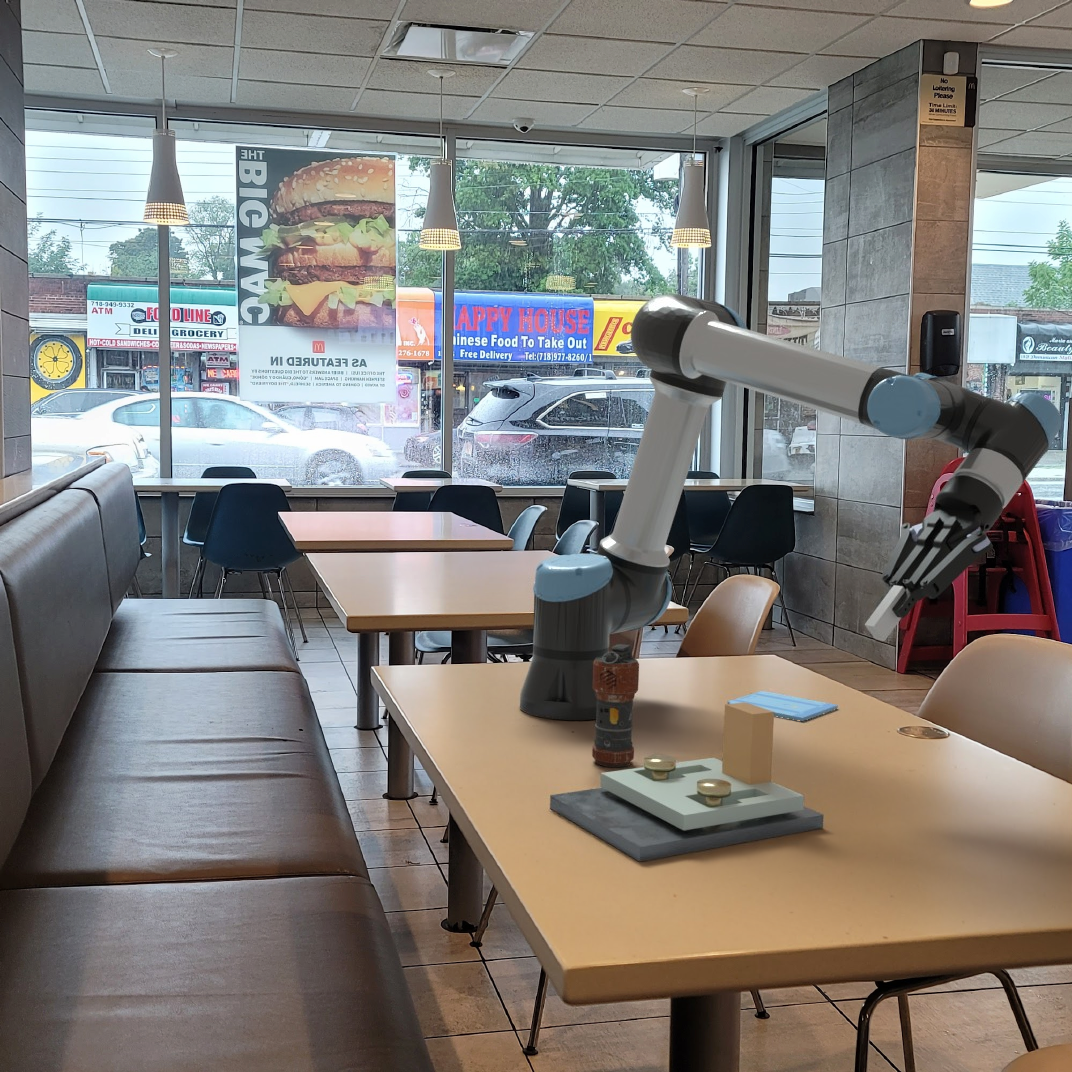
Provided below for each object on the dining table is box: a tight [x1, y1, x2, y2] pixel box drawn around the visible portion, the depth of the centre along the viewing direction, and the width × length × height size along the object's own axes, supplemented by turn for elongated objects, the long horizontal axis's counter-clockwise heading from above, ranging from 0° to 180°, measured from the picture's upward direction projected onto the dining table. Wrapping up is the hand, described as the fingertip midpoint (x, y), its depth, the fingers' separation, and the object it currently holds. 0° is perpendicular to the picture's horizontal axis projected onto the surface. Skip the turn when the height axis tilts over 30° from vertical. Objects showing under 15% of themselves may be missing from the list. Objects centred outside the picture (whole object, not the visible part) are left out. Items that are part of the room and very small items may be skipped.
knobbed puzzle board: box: [600, 702, 805, 830], centre depth 128 cm, size 16×16×10 cm
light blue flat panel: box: [727, 690, 839, 722], centre depth 182 cm, size 14×12×1 cm
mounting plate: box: [549, 754, 824, 863], centre depth 127 cm, size 18×24×5 cm
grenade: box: [591, 643, 640, 768], centre depth 149 cm, size 6×8×15 cm
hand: (874, 632), depth 138 cm, fingers closed
